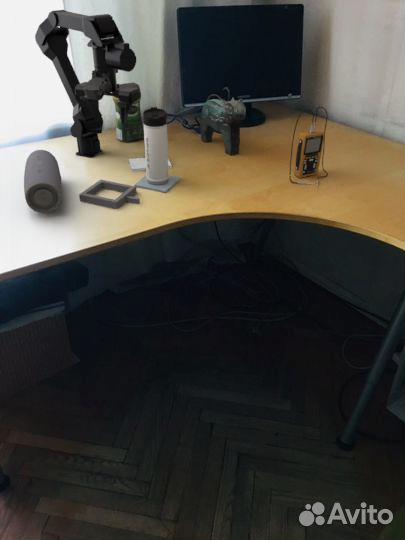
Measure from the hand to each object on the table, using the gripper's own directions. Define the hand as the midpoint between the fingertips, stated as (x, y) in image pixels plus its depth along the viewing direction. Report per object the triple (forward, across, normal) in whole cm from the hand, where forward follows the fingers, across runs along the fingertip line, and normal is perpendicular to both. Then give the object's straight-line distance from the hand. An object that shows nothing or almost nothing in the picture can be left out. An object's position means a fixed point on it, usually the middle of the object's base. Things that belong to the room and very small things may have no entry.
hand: (110, 122), depth 137 cm
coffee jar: (+13, -7, +22) cm, 27 cm away
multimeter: (+13, +60, +14) cm, 63 cm away
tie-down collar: (+13, +13, -21) cm, 28 cm away
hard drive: (+14, +10, +4) cm, 18 cm away
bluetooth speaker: (+13, -4, -28) cm, 31 cm away
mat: (+13, +19, -7) cm, 24 cm away
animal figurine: (+13, +25, +27) cm, 39 cm away
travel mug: (+13, +19, -7) cm, 24 cm away
